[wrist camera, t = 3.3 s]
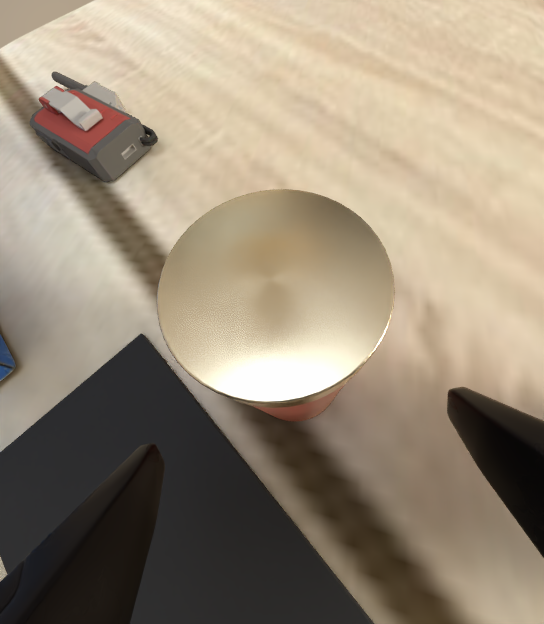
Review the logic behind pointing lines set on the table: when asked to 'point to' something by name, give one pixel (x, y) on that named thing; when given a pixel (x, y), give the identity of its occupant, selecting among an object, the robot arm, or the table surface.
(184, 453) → the desk pad
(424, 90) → the table surface
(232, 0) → the table surface
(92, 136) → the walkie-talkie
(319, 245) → the lidded canister
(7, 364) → the toner cartridge
